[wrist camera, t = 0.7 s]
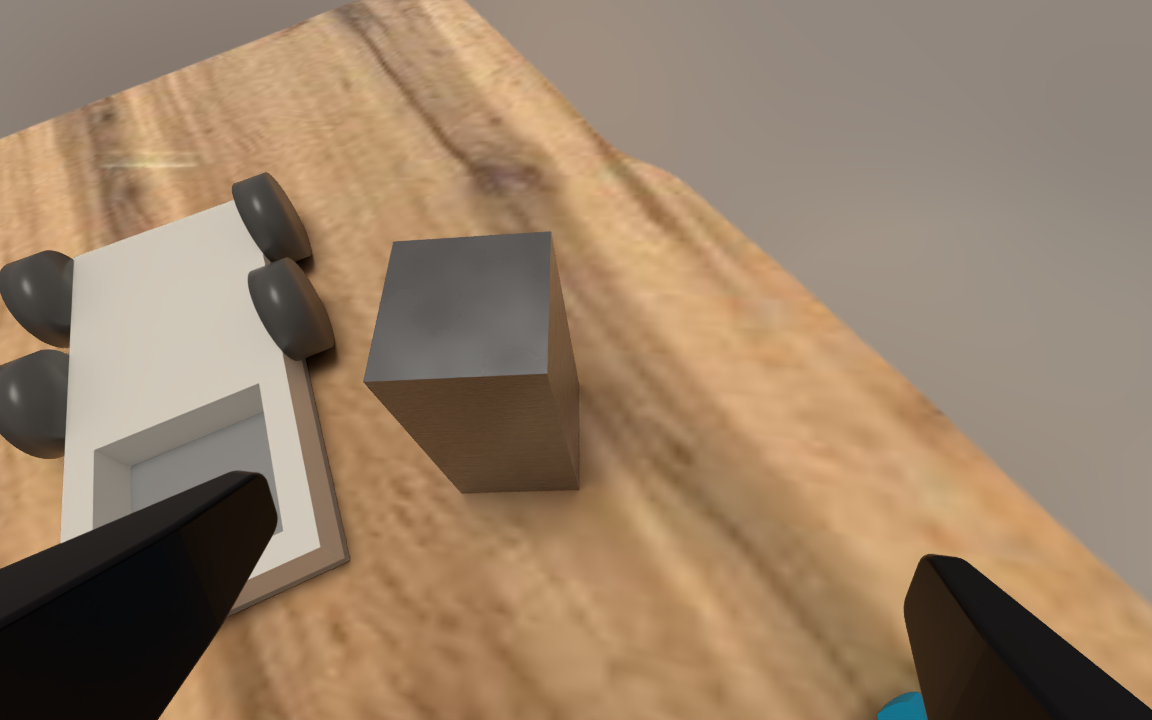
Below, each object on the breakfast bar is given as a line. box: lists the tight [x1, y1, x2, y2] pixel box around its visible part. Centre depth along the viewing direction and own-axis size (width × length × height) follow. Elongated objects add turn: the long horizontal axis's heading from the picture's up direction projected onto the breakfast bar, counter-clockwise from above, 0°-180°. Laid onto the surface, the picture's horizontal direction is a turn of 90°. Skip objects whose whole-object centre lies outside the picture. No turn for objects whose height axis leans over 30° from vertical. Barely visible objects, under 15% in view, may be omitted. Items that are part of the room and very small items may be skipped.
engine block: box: [363, 232, 579, 493], centre depth 21 cm, size 5×5×10 cm
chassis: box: [0, 172, 350, 617], centre depth 25 cm, size 21×13×5 cm, turn 24°
